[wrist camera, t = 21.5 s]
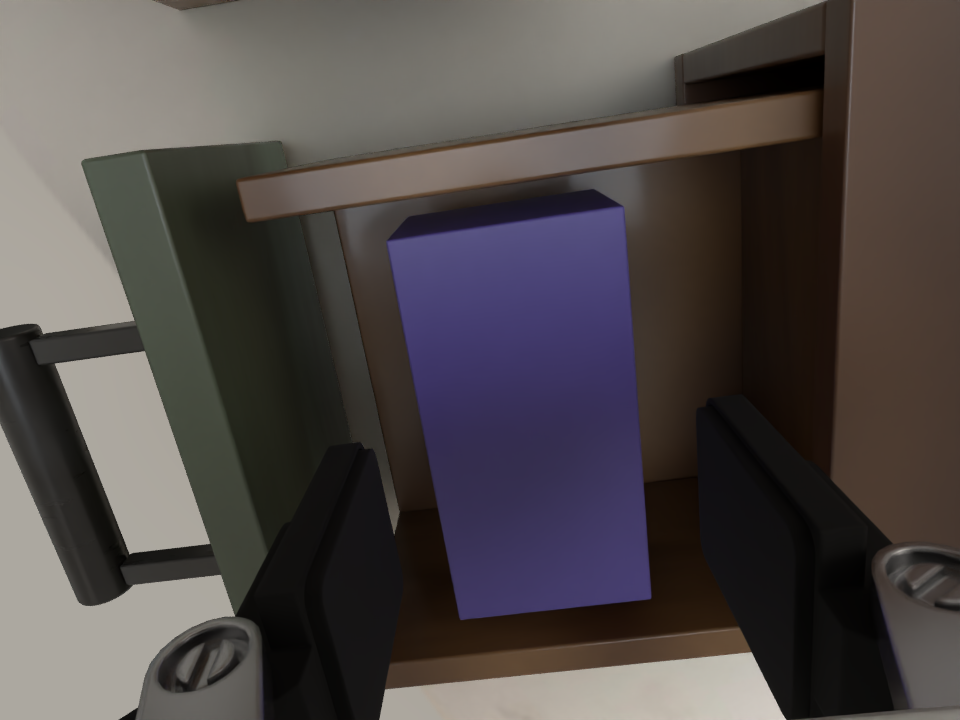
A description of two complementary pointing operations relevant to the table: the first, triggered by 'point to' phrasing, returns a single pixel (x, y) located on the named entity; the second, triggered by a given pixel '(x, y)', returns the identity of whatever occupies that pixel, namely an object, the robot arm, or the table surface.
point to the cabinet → (875, 241)
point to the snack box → (528, 399)
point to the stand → (190, 3)
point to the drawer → (313, 381)
